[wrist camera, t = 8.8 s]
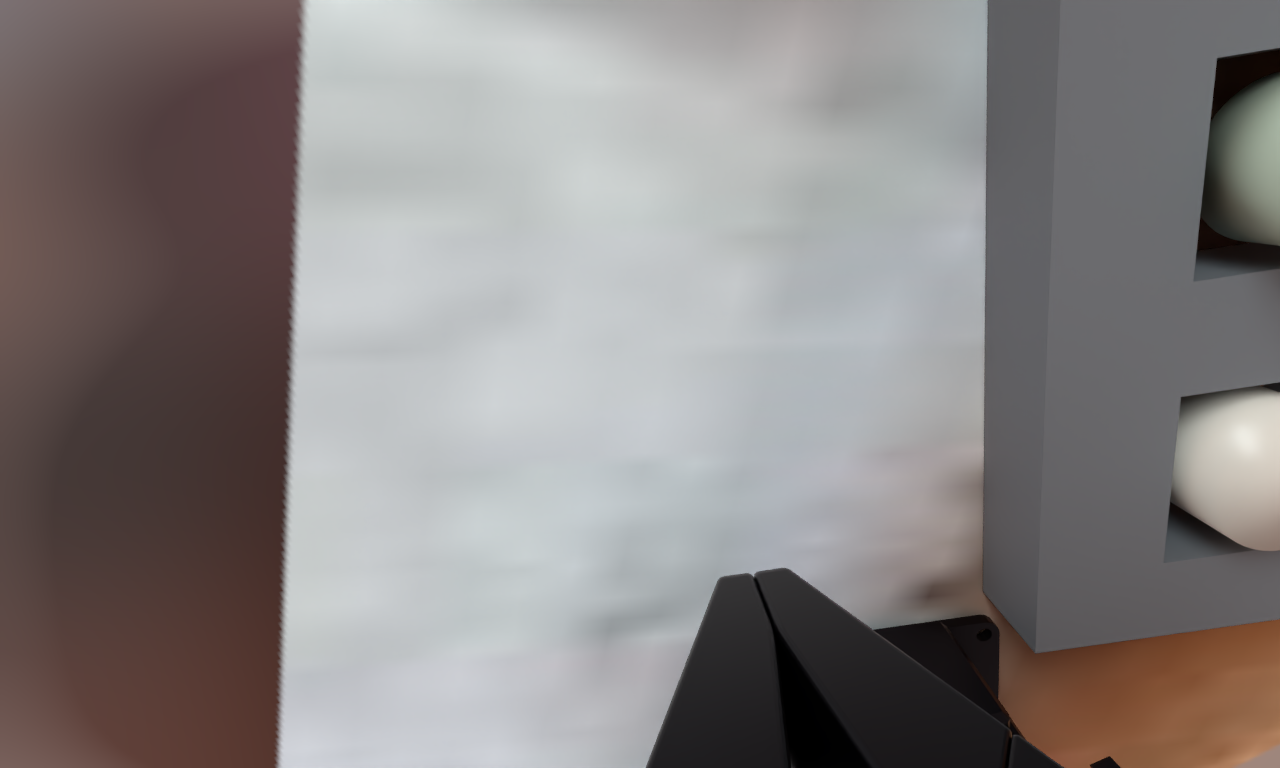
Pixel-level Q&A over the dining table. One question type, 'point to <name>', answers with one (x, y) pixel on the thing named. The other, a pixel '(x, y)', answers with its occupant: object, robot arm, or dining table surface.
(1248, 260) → the button panel
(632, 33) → the dining table surface
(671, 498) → the dining table surface
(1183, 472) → the cream button
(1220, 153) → the sage button
